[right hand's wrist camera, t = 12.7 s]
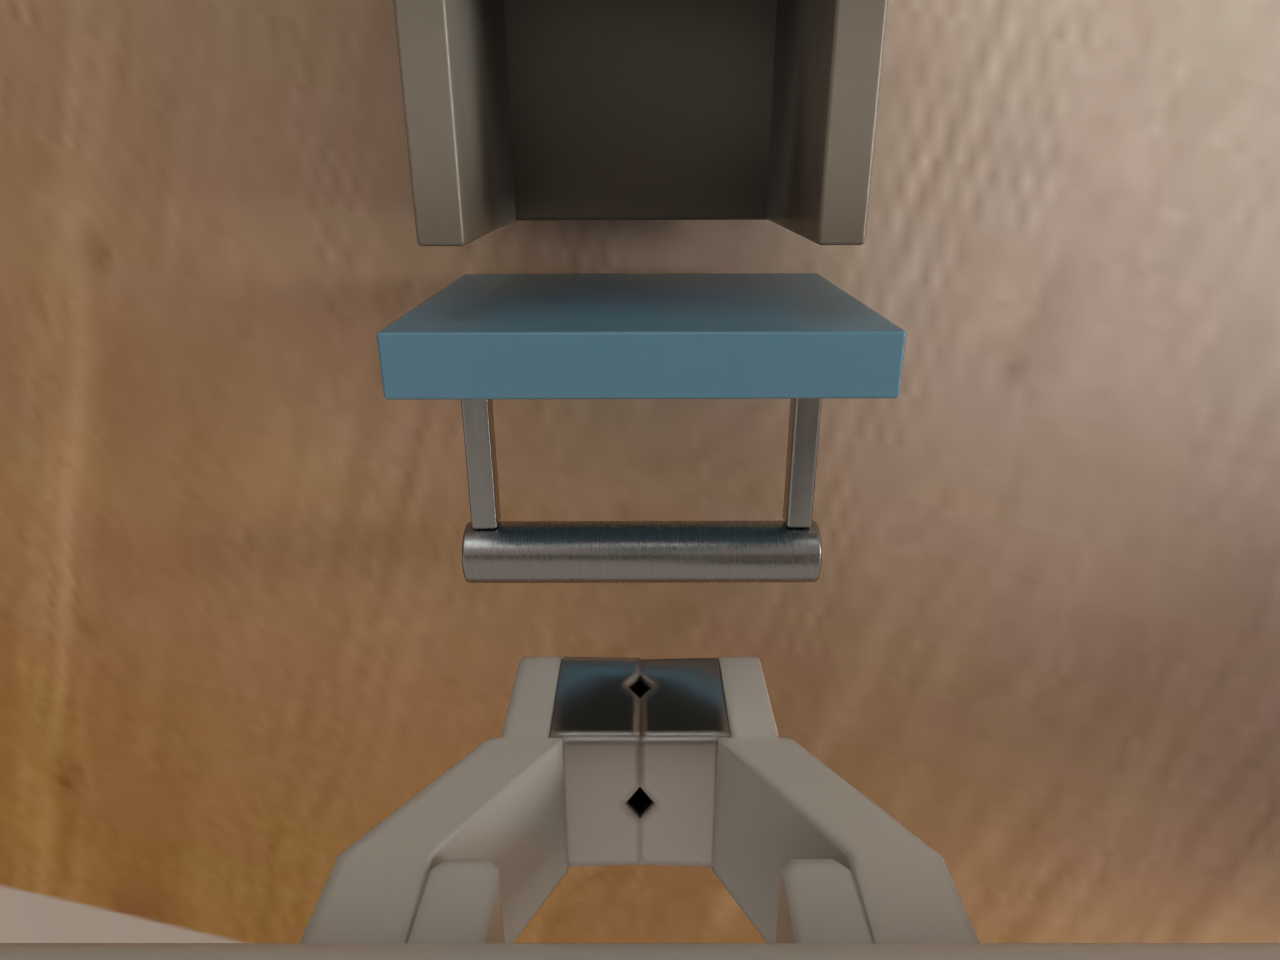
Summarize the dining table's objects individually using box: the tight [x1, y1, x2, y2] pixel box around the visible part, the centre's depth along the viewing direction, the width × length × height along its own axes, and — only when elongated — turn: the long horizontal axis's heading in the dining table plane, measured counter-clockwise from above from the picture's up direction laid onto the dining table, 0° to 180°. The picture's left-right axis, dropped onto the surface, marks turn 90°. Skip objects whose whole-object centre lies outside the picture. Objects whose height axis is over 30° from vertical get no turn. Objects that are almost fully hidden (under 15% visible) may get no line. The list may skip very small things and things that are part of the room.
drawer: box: [377, 0, 906, 583], centre depth 16 cm, size 21×9×8 cm, turn 0°
